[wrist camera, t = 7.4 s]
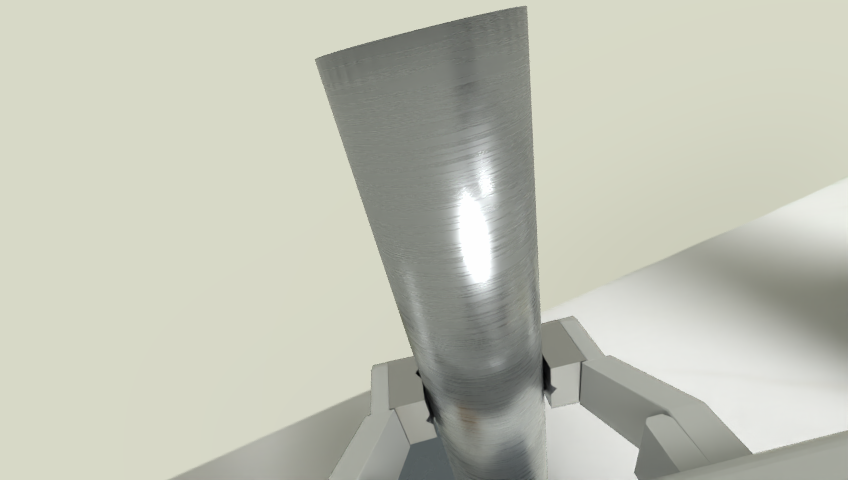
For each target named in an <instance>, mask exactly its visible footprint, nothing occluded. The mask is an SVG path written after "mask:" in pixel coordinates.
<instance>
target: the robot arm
mask: <svg viewBox="0 0 848 480" xmlns="http://www.w3.org/2000/svg"><path fill="white" fill-rule="evenodd" d="M541 338H542V361H543V383H544V394H545V396H546V398H547V400H548V402H549V404H550V406H551V408H556V407H560V406H565V405H570V404H574V403H579V402H580V404H581V405H582V406H583V407H585V408H586V409H587V410H589V411H590V412H591V413H593V414H594V415H595V416H597V417H598V418H599V419H601V420H602V421H603V422H605V423H606V424H607V425H608V426H610V427H611V428H612V429H614V430H615V431H616V432H618V433H619V434H620V435H622V436H623V437H624V438H626V439H627V440H628V441H630V442H631V443H632V444H634V445H635V446H636V447H637V448H639V454H638V458H637V463H636V467H635V471H634V473H635V475H636V476H637V478H638V480H848V430H847V431H843V432H839V433H835V434H831V435H827V436H823V437H819V438H815V439H811V440H807V441H803V442H799V443H795V444H791V445H787V446H783V447H779V448H775V449H771V450H767V451H763V452H759V453H755V454H752V452H751V451H750V450H749V449H748V448H747V447H746V446H745V445H744V444H743V443H742V442H741V441H740V440H739V439H738V438H737V437H736V436H735V434H734V433H733V432H732V431H731V430H730V429H729V428H728V427H727V426H726V425H725V424H724V423H723V422H722V421H721V420H720V419H719V417H718V416H717V415H716V414H715V413H714V412H713V411H712V410H711V409H710V408H709V407H708V406H707V405H706V404H705V403H704V402H703V401H701V400H699V399H697V398H695V397H693V396H691V395H689V394H687V393H685V392H683V391H681V390H679V389H677V388H675V387H673V386H671V385H669V384H667V383H665V382H663V381H661V380H659V379H657V378H655V377H653V376H651V375H649V374H647V373H645V372H643V371H641V370H639V369H637V368H635V367H633V366H631V365H629V364H627V363H625V362H623V361H621V360H619V359H617V358H615V357H613V356H611V355H609V356H605V355H604V354H603V352H602V351H601V350H600V349H599V347H598V346H597V345H596V343H595V342H594V341H593V340H592V338H591V337H590V336H589V334H588V333H587V332H586V330H585V329H584V328H583V327H582V325H581V324H580V323H579V321H578V320H577V319H576V318H575V317H574V316H570V317H566V318H562V319H559V320H554V321H550V322H546V323H542V324H541ZM435 437H437V432H436V425H435V419H434V414H433V411H432V408H431V405H430V403H429V400H428V397H427V393H426V390H425V387H424V384H423V382H422V379H421V376H420V373H419V370H418V367H417V364H416V361H415V358H414V356H412V357H407V358H403V359H399V360H394V361H389V362H386V363H381V364H377V365H373V367H372V370H371V413H370V415H368V416H365V418H364V420H363V422H362V423H361V425H360V427H359V428H358V430H357V432H356V433H355V435H354V437H353V438H352V440H351V442H350V443H349V445H348V447H347V448H346V450H345V452H344V453H343V455H342V457H341V458H340V460H339V462H338V464H337V465H336V467H335V469H334V470H333V472H332V474H331V475H330V477H329V479H328V480H398V478H399V476H400V473H401V470H402V468H403V465H404V462H405V460H406V457H407V454H408V452H409V449H410V444H414V443H418V442H421V441H425V440H428V439H432V438H435Z"/></svg>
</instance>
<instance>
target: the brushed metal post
mask: <svg viewBox="0 0 848 480" xmlns="http://www.w3.org/2000/svg"><path fill="white" fill-rule="evenodd" d="M315 61H316V65H317V67H318V70H319V74H320V77H321V80H322V83H323V85H324V88H325V92H326V95H327V97H328V100H329V103H330V106H331V109H332V112H333V115H334V118H335V121H336V124H337V127H338V130H339V133H340V136H341V139H342V142H343V145H344V148H345V151H346V154H347V157H348V160H349V163H350V166H351V169H352V172H353V175H354V178H355V181H356V184H357V187H358V190H359V193H360V196H361V199H362V202H363V205H364V208H365V211H366V214H367V217H368V220H369V223H370V226H371V229H372V232H373V235H374V238H375V241H376V244H377V247H378V250H379V253H380V256H381V259H382V262H383V265H384V268H385V271H386V274H387V277H388V280H389V283H390V286H391V289H392V292H393V295H394V298H395V301H396V304H397V307H398V310H399V313H400V316H401V319H402V322H403V325H404V328H405V331H406V333H407V337H408V340H409V342H410V346H411V349H412V352H413V355H414V358H415V361H416V364H417V367H418V370H419V373H420V376H421V379H422V382H423V384H424V387H425V390H426V393H427V397H428V400H429V403H430V405H431V408H432V411H433V414H434V418H435V421H436V423H437V426H438V429H439V432H440V435H441V438H442V441H443V444H444V447H445V450H446V453H447V456H448V459H449V462H450V465H451V468H452V471H453V474H454V477H455V480H548V474H547V452H546V429H545V406H544V383H543V361H542V338H541V315H540V293H539V270H538V247H537V224H536V201H535V178H534V156H533V133H532V111H531V87H530V66H529V42H528V20H527V6H521V7H515V8H509V9H505V10H499V11H495V12H490V13H486V14H482V15H477V16H473V17H468V18H464V19H459V20H455V21H451V22H447V23H443V24H439V25H435V26H431V27H427V28H423V29H418V30H414V31H411V32H407V33H403V34H399V35H395V36H392V37H388V38H384V39H380V40H376V41H373V42H369V43H365V44H362V45H358V46H354V47H351V48H347V49H344V50H340V51H337V52H334V53H331V54H327V55H324V56H322V57H319V58H317V59H315Z"/></svg>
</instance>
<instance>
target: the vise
mask: <svg viewBox="0 0 848 480" xmlns="http://www.w3.org/2000/svg"><path fill="white" fill-rule="evenodd" d="M434 419H435V418H434ZM435 425H436V432H437V437H435V438H432V439H428V440H425V441H421V442H418V443H414V444H410V449H409V452H408V454H407V457H406V460H405V462H404V465H403V468H402V470H401V473H400V476H399V478H398V480H455V477H454V474H453V471H452V468H451V465H450V462H449V459H448V456H447V453H446V450H445V447H444V444H443V441H442V438H441V435H440V432H439V429H438V426H437V423H436V421H435Z"/></svg>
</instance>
